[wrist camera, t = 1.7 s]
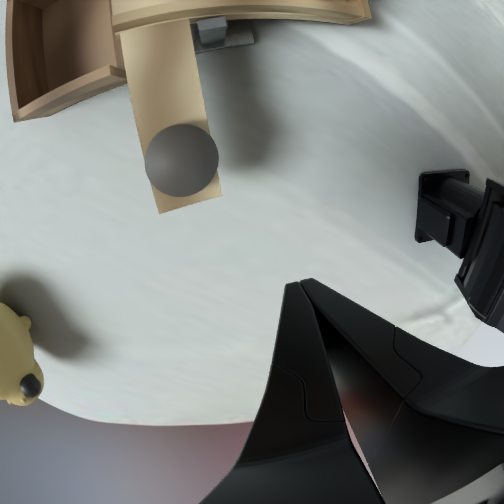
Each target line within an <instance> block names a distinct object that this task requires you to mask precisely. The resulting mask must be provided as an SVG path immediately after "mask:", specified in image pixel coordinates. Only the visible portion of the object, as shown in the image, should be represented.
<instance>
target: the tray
mask: <svg viewBox="0 0 504 504" xmlns="http://www.w3.org/2000/svg"><path fill="white" fill-rule="evenodd" d="M112 15H113V14H112V3H111V0H7V8H6V65H7V78H8V87H9V95H10V103H11V109H12V115H13V121H14V123H15V122H20V121H25V120H30V119H36V118H41V117H48V116H51V115H53V114H55V113H57V112H59V111H61V110H63V109H65V108H67V107H69V106H72V105H74V104H76V103H78V102H80V101H83V100H85V99H87V98H90V97H92V96H95V95H97V94H100V93H102V92H105V91H107V90H110V89H113V88H116V87H118V86H121V85H124V84H127V83H128V82H127V76H126V70H125V64H124V58H123V52H122V45H121V39H118V40H116V36H115V32H114V29H113V25H112Z"/></svg>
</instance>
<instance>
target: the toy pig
mask: <svg viewBox="0 0 504 504" xmlns="http://www.w3.org/2000/svg"><path fill="white" fill-rule="evenodd" d="M30 327H31V320H30V318H29V317H27V316H21V317H19V316H18V315H17V314H16V313H15V312H14V311H13V310H12V309H10V308H9V307H8V306H6V305H5V304H3V303H1V302H0V400H7V402H8V403H9V404H12V403H13V404H16V405H20V406H26V405H29V404H31V403H33V402H34V401H35V400H36V399H37V398H38V397H39V395H40V394H41V392H42V390H43V387H44V377H43V373H42V370H41V368H40V366H39V365H38V363H37V362H36V360H35V359H34V348H33V342H32V338H31V335H30V333H29V329H30Z"/></svg>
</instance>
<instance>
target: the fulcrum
mask: <svg viewBox="0 0 504 504" xmlns="http://www.w3.org/2000/svg"><path fill="white" fill-rule="evenodd" d="M190 29H191V35H192V40H193V46H194V52H195V54H196V53H200V52H205V51H211V50H216V49H222V48H228V47H235V46H243V45H251V44H253V43H254V39H253V34H252V28H251V23H250V19H235V20H226V19H225V16H224V17H218V18H211V19H206V20H200V21H197V23H194V24H190Z"/></svg>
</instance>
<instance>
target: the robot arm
mask: <svg viewBox="0 0 504 504" xmlns="http://www.w3.org/2000/svg"><path fill="white" fill-rule="evenodd" d="M469 176H470V174H469V171H467V170H465V169H461V170H447V171H435V172H424V173H421V174H420V176H419V191H418V207H417V219H416V230H415V240H416V241H417V242H418V243H422V242H427V241H431V240H435V241H437V242H438V243H439V244H440V245H442V246H443V247H446V248H447V249H449V250H450V251H451V252H452V253H454V254H455V255H456V256H457V257H458V258H460V259H462V258H464V259H463V262H462V264H461V267H460V269H459V272H458V274H456V277H455V279H454V281H455V283H456V284H457V286H458V288H459V289H460V291H461V293H462V294H463V296H464V298H465V300H466V301H467V303H468V305H469V307H470V308H471V310H472V312H473V313H474V315H475V317H476V318H478V319H480V320H481V321H482V322H484V323H486V324H487V325H489V326H492V327H495V328H497V329H498V330H500V331H501V332H503V333H504V184H502V183H500V182H497V181H494V180H492V179H489V178H487V180H486V184H485V185H486V189H485V192H484V191H482V190H480V189H478V188H476V187H474V186H472V185H470V184H469ZM424 178H425V180H424ZM420 236H421V237H420ZM419 237H420V238H419ZM342 408H343V409H342ZM343 410H344V412H345V415H346V417H347V419H348V421H349V423H350V426H351V428H352V430H353V432H354V434H355V437H356V439H357V441H358V443H359V445H360V447H361V450H362V452H363V454H364V457H365V459H366V461H367V463H368V466H369V468H370V470H371V472H372V475H373V477H374V479H375V481H376V484H377V486H378V488H379V490H378V489H377V487H376V485H375V483H374V481H373V480H372V478H371V476H370V474H369V472H368V471H367V469H366V467H365V465H364V463H363V462H362V460H361V458H360V456H359V454H358V453H357V451H356V449H355V447H354V445H353V443H352V441H351V438H350V435H349V432H348V429H347V425H346V423H345V417H344V413H343ZM379 491H380V492H379ZM380 493H381V494H380ZM381 495H382V496H381ZM382 497H383V498H382ZM199 504H504V366H501V367H484V366H480V365H476V364H473V363H471V362H469V361H466V360H464V359H462V358H460V357H457V356H455V355H453V354H450V353H448V352H446V351H444V350H441V349H439V348H437V347H435V346H433V345H431V344H429V343H426V342H424V341H422V340H420V339H418V338H417V337H415V336H413V335H411V334H409V333H407V332H406V331H404V330H402V329H400V328H399V327H395V325H393V324H392V323H390V322H388V321H386V320H385V319H383V318H381V317H380V316H378V315H376V314H374V313H373V312H371V311H369V310H367V309H366V308H364V307H362V306H361V305H359V304H357V303H355V302H354V301H352V300H350V299H348V298H347V297H345V296H343V295H341V294H340V293H338V292H336V291H334V290H333V289H331V288H329V287H327V286H326V285H324V284H322V283H320V282H319V281H317V280H315V279H313V278H308V279H304V280H301V281H300V282H292V283H288V284H286V285H285V288H284V294H283V301H282V307H281V312H280V318H279V324H278V330H277V335H276V341H275V347H274V352H273V357H272V364H271V367H270V372H269V377H268V381H267V385H266V389H265V393H264V396H263V399H262V402H261V405H260V408H259V410H258V413H257V415H256V418H255V420H254V423H253V425H252V428H251V430H250V432H249V435H248V437H247V440H246V442H245V444H244V447H243V449H242V451H241V453H240V455H239V457H238V459H237V461H236V463H235V464H234V466H233V467H232V469H231V470H230V471H229V472H228V473H227V475H226V476H225V477H224V478H223V479H222V480H221V481H220V482H219V483H218V484H217V485H216V486H215V487H214V488H213V490H212V491H211V492H210V493H209V494H208V495H207V496H206V497H205V498H204V499H203V500H202V501H201V502H200V503H199Z"/></svg>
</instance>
